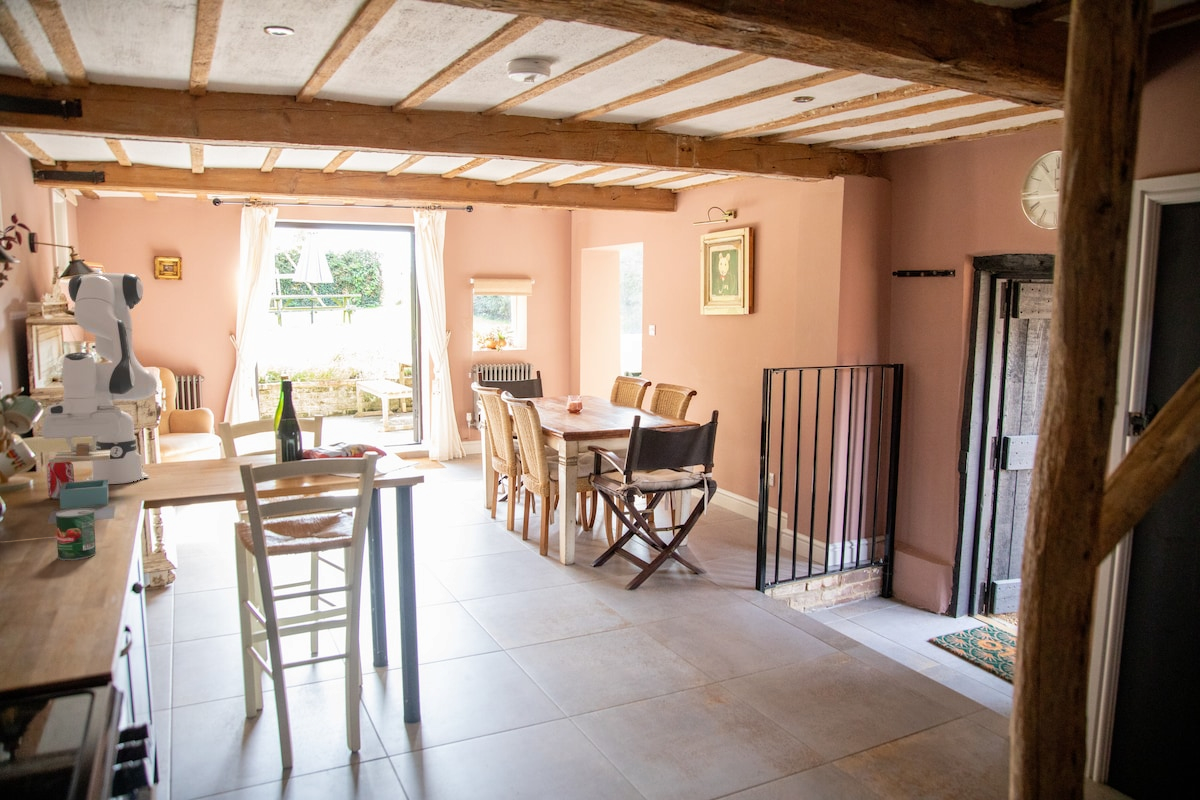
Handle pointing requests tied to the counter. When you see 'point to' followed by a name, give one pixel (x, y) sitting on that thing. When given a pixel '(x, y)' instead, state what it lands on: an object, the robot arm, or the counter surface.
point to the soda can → (58, 477)
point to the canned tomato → (75, 534)
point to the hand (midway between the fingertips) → (82, 451)
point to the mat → (98, 514)
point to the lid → (82, 454)
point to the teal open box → (84, 494)
